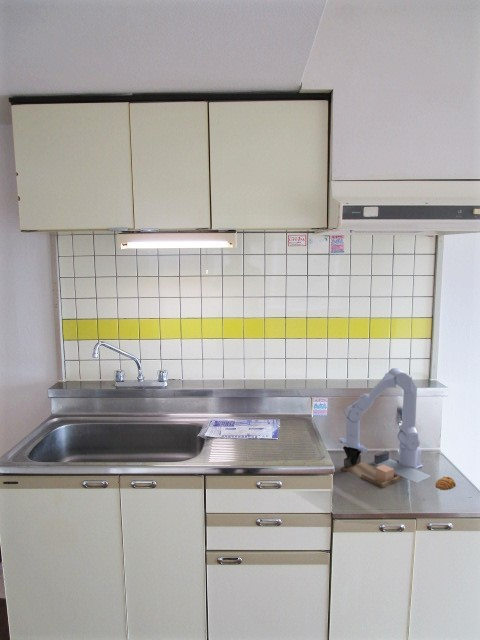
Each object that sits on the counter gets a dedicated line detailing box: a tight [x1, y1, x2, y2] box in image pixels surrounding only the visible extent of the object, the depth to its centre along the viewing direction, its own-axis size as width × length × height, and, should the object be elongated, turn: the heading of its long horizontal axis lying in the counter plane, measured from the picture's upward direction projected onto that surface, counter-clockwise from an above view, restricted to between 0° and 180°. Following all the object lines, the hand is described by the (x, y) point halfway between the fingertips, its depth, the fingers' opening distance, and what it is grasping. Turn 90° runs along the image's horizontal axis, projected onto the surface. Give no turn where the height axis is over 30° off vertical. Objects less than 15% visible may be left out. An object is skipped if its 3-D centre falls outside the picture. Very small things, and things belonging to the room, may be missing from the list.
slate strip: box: [372, 450, 432, 484], centre depth 184 cm, size 10×22×5 cm, turn 34°
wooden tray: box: [340, 454, 403, 489], centre depth 181 cm, size 12×22×5 cm, turn 34°
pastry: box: [435, 476, 457, 491], centre depth 171 cm, size 9×7×4 cm
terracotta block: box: [375, 464, 394, 483], centre depth 175 cm, size 5×5×5 cm
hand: (352, 463), depth 189 cm, fingers closed on wooden tray, 2 cm apart
